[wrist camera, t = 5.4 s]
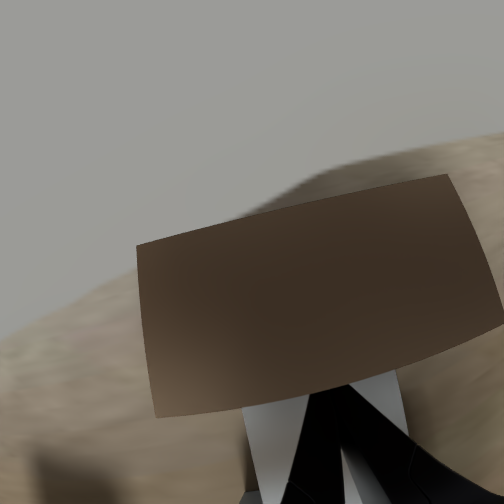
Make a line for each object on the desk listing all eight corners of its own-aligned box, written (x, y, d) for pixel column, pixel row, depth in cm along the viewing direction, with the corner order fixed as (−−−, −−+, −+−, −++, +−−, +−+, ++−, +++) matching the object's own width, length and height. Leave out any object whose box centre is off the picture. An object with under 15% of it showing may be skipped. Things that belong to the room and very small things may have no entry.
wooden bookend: (393, 485, 13) (512, 603, 1) (281, 513, 13) (244, 679, 1) (355, 311, 17) (454, 172, 5) (243, 338, 18) (126, 248, 6)
